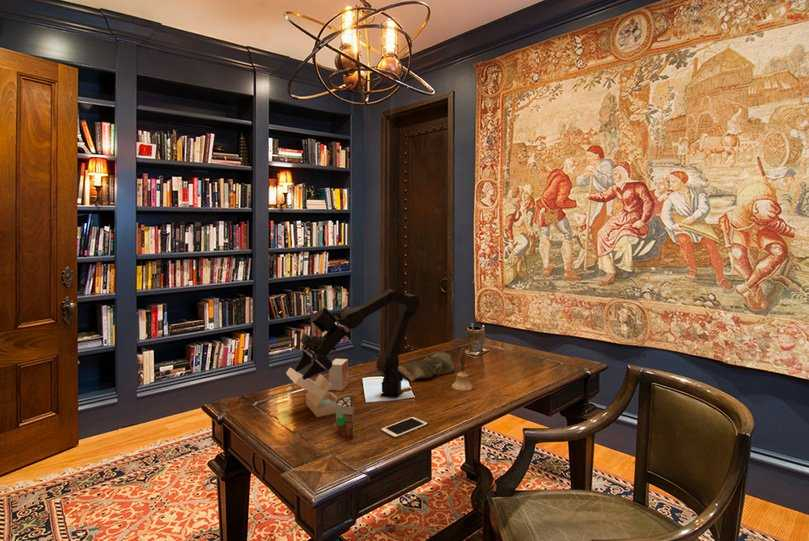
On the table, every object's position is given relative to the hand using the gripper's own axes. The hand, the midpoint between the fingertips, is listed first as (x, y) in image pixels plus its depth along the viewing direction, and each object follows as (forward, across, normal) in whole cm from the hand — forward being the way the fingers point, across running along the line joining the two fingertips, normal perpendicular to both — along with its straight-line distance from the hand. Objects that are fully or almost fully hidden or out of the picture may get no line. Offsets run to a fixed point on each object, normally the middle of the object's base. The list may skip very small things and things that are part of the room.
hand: (299, 374), depth 157 cm
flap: (0, 0, +10) cm, 10 cm away
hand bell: (-37, +7, +53) cm, 65 cm away
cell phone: (-9, +28, +28) cm, 40 cm away
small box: (-6, -18, +24) cm, 30 cm away
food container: (+4, +20, +16) cm, 26 cm away
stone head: (-34, -17, +52) cm, 64 cm away
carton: (+3, 0, +16) cm, 16 cm away
